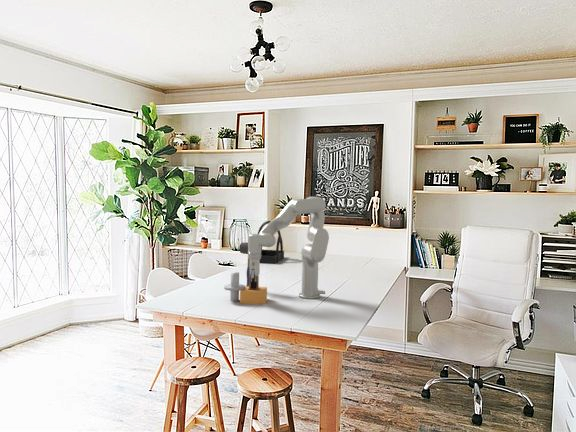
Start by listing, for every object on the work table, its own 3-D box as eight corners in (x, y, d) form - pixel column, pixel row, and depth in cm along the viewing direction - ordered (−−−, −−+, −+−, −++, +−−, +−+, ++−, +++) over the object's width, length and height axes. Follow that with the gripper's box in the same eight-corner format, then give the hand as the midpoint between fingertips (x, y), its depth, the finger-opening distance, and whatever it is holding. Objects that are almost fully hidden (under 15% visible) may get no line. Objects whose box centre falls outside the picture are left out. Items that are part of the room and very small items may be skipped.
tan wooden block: (258, 292, 267) (258, 271, 266) (257, 293, 263) (258, 272, 262) (249, 291, 267) (250, 271, 266) (248, 293, 263) (249, 272, 262)
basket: (275, 264, 384) (276, 223, 381) (251, 263, 388) (252, 222, 385) (284, 257, 418) (285, 219, 415) (262, 256, 422) (262, 218, 420)
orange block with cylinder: (266, 298, 271) (267, 271, 270) (264, 304, 259) (265, 275, 258) (226, 297, 272) (226, 270, 271) (222, 302, 260) (222, 274, 259)
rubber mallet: (237, 289, 291) (238, 242, 289) (243, 287, 298) (244, 241, 296) (255, 292, 286) (256, 244, 284) (260, 289, 293) (261, 242, 291)
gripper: (259, 258, 255) (258, 291, 256) (262, 253, 271) (261, 284, 273) (245, 257, 255) (245, 290, 256) (249, 253, 272) (249, 283, 273)
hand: (253, 287), depth 264 cm, fingers closed on tan wooden block, 4 cm apart
